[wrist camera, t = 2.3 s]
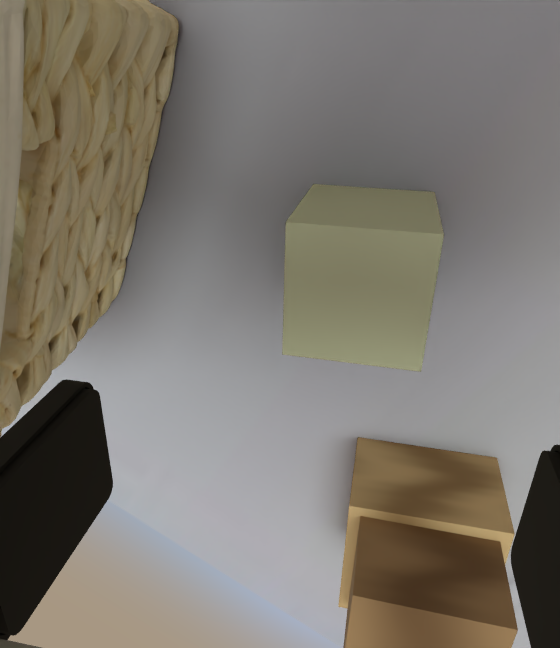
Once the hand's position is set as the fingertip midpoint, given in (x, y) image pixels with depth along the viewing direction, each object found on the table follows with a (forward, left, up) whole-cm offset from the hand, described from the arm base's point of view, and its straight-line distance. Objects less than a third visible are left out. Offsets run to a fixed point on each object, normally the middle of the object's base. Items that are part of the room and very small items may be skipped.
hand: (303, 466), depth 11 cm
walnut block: (-4, +14, -9) cm, 17 cm away
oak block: (-4, +14, -14) cm, 20 cm away
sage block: (0, 0, -14) cm, 14 cm away
